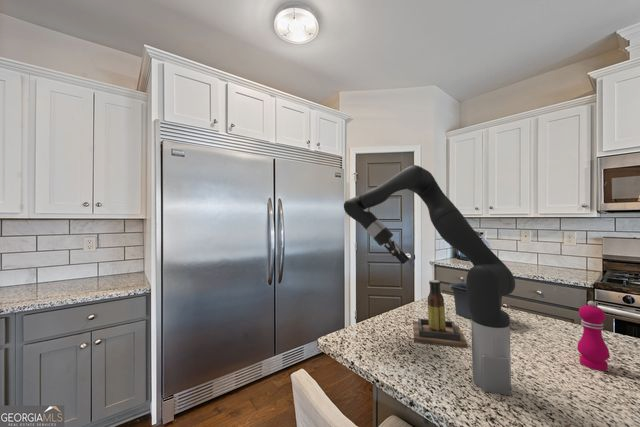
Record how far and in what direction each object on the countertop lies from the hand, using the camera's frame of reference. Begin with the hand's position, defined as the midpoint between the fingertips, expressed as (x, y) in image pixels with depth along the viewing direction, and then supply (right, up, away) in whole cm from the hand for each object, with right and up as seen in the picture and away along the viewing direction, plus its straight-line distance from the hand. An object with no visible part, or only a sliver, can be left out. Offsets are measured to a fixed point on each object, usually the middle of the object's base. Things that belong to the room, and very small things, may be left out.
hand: (406, 261), depth 115 cm
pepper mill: (+50, -28, -29) cm, 63 cm away
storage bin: (+38, -29, +14) cm, 49 cm away
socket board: (+11, -28, -5) cm, 31 cm away
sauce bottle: (+11, -27, -5) cm, 29 cm away
